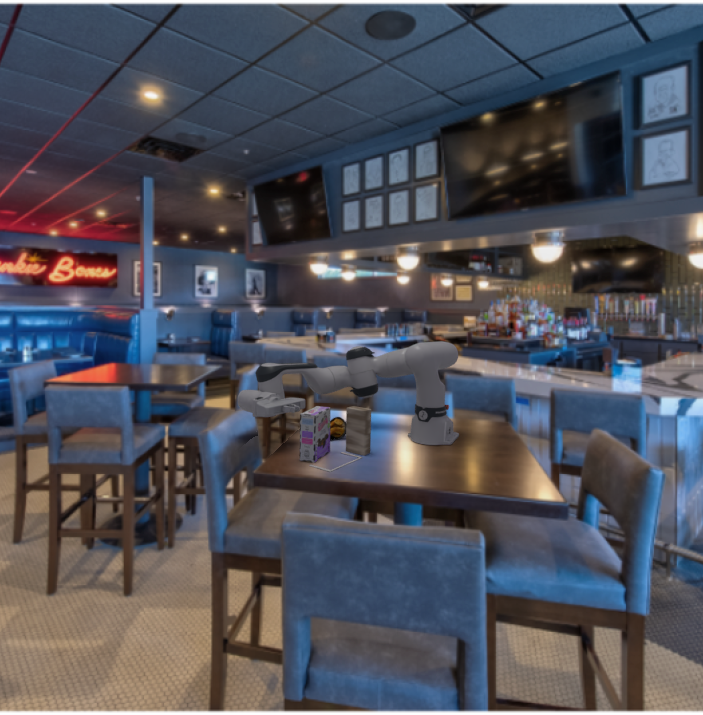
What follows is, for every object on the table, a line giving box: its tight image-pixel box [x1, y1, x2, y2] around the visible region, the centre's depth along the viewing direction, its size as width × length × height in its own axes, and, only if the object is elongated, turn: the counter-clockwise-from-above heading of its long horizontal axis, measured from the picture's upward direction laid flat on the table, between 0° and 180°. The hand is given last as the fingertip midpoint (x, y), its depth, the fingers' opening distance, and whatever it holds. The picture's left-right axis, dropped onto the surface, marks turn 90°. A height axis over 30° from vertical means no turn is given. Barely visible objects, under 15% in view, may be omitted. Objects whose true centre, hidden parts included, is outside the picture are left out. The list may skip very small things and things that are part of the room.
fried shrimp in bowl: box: [330, 416, 346, 442], centre depth 182 cm, size 9×11×18 cm
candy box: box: [299, 405, 331, 463], centre depth 162 cm, size 14×6×16 cm, turn 160°
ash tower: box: [345, 405, 372, 457], centre depth 167 cm, size 4×8×16 cm, turn 53°
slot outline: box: [308, 451, 364, 473], centre depth 158 cm, size 18×9×1 cm, turn 143°
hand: (297, 409), depth 166 cm, fingers closed
